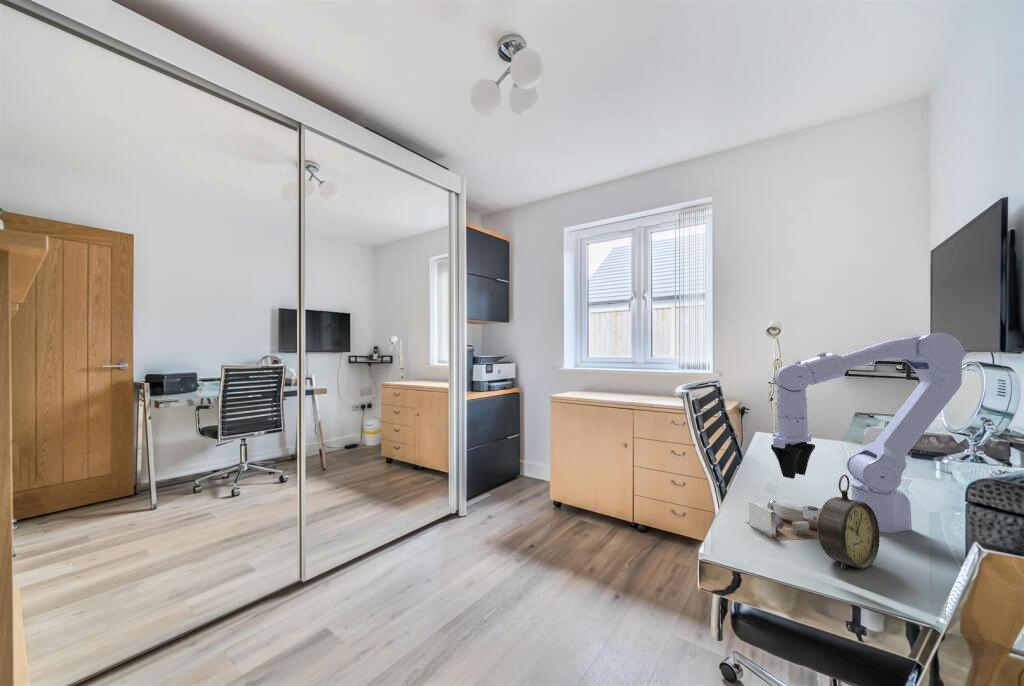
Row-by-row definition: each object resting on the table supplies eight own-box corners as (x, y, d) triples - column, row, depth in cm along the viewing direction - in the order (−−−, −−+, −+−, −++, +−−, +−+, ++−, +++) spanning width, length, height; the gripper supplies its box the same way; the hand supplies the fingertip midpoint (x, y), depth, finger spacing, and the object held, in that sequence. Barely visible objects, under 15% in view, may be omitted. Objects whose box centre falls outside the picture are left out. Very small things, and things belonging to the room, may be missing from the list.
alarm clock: (848, 582, 64) (844, 482, 65) (811, 567, 69) (808, 474, 70) (883, 568, 68) (879, 475, 69) (847, 555, 73) (843, 467, 74)
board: (813, 522, 88) (813, 518, 88) (853, 540, 79) (852, 535, 79) (744, 526, 86) (744, 521, 86) (777, 545, 77) (777, 540, 77)
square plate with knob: (786, 522, 85) (786, 499, 86) (811, 534, 80) (810, 509, 80) (749, 524, 84) (748, 501, 85) (771, 537, 78) (770, 511, 79)
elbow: (826, 527, 82) (826, 508, 83) (819, 531, 80) (819, 512, 81) (774, 512, 91) (774, 495, 91) (767, 515, 89) (766, 498, 89)
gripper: (787, 412, 99) (788, 467, 98) (758, 417, 91) (760, 476, 90) (820, 416, 93) (822, 474, 92) (792, 420, 85) (795, 484, 84)
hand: (794, 475), depth 91 cm, fingers open, 5 cm apart
